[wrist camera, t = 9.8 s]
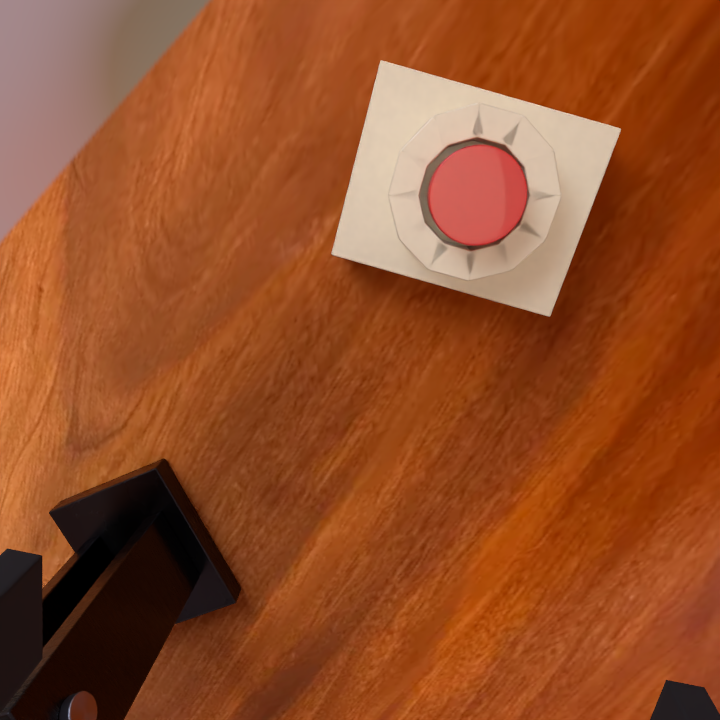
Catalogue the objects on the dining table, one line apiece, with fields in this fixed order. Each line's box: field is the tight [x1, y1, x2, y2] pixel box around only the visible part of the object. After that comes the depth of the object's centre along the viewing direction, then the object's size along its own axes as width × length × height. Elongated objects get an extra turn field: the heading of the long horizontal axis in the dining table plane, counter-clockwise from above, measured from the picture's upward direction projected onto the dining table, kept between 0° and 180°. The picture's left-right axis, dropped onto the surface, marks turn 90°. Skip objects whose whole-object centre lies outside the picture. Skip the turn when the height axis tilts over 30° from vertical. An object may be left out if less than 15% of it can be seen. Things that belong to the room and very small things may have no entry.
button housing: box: [331, 61, 621, 317], centre depth 25 cm, size 10×8×4 cm
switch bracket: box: [0, 459, 241, 720], centre depth 27 cm, size 9×7×14 cm
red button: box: [427, 144, 527, 246], centre depth 22 cm, size 4×4×2 cm
